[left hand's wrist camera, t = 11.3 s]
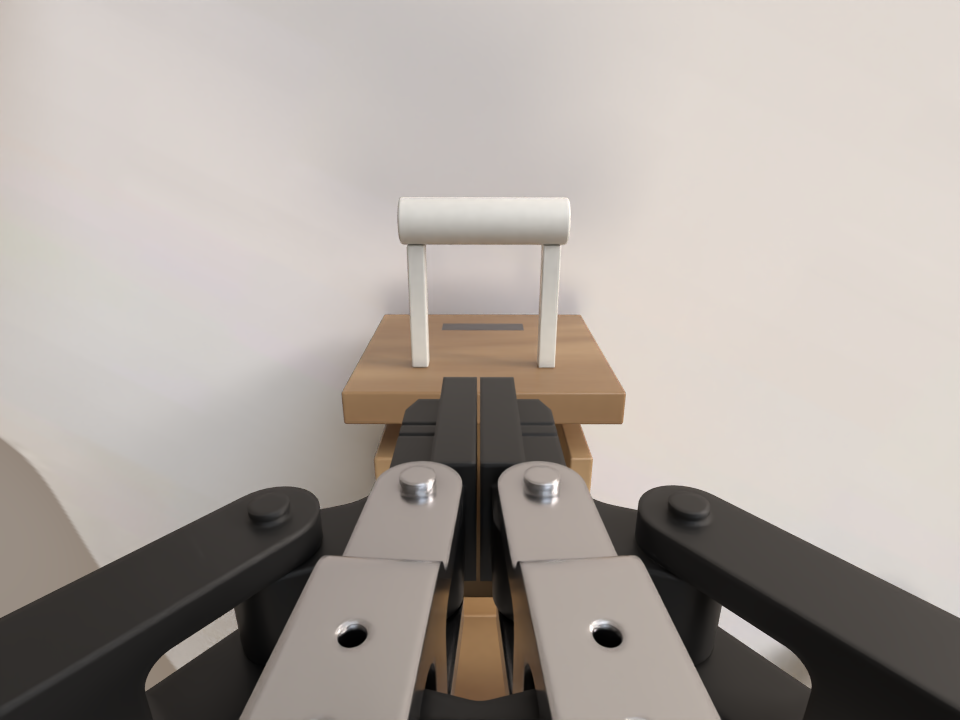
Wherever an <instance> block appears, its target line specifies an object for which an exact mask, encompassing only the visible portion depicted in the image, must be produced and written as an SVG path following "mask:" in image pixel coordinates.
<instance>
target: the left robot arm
mask: <svg viewBox="0 0 960 720" xmlns="http://www.w3.org/2000/svg"><path fill="white" fill-rule="evenodd" d="M476 547H477V377H443V383H442V389H441V396H440V399H418V400H417V401H416V402H414V403H413V404H412V405H411V406H410V407H408V408H407V409H406V410H405V414H404V417H403V421H402V425H401V428H400V432H399V436H398V439H397V443H396V446H395V450H394V453H393V457H392V461H391V464H390V468H389V469H388V470H386V471H385V472H383V473H382V474H381V475H380V476H379V477H378V478H377V480H376V481H375V483H374V485H373V488H372V490H371V492H370V494H369V496H367V497H365V498H363V499H361V500H358V501H355V502H353V503H349V504H345V505H341V506H336V507H331V508H326V509H321V510H320V506H319V501H318V499H317V498H316V496H315V495H314V494H312V493H311V492H309V491H307V490H305V489H301V488H297V487H273V488H267V489H263V490H259V491H256V492H253V493H251V494H248V495H246V496H244V497H242V498H240V499H238V500H236V501H234V502H232V503H230V504H228V505H226V506H224V507H222V508H220V509H218V510H216V511H214V512H212V513H210V514H208V515H206V516H204V517H202V518H200V519H198V520H196V521H194V522H192V523H190V524H188V525H186V526H184V527H182V528H180V529H178V530H176V531H174V532H172V533H170V534H168V535H166V536H164V537H162V538H160V539H158V540H156V541H154V542H152V543H150V544H148V545H146V546H144V547H142V548H140V549H138V550H136V551H134V552H132V553H130V554H128V555H126V556H124V557H122V558H120V559H118V560H116V561H114V562H112V563H110V564H108V565H106V566H104V567H102V568H100V569H98V570H96V571H94V572H92V573H90V574H88V575H86V576H84V577H82V578H80V579H78V580H76V581H74V582H72V583H70V584H68V585H66V586H64V587H62V588H60V589H58V590H56V591H54V592H52V593H50V594H48V595H46V596H44V597H42V598H40V599H38V600H36V601H34V602H32V603H30V604H28V605H26V606H24V607H22V608H20V609H18V610H16V611H14V612H12V613H10V614H8V615H6V616H4V617H2V618H0V720H960V618H958V617H956V616H954V615H952V614H950V613H948V612H946V611H944V610H942V609H940V608H938V607H936V606H934V605H932V604H930V603H928V602H926V601H924V600H922V599H920V598H918V597H916V596H914V595H912V594H910V593H908V592H906V591H904V590H902V589H900V588H898V587H896V586H894V585H892V584H890V583H888V582H886V581H884V580H882V579H880V578H878V577H876V576H874V575H872V574H870V573H868V572H866V571H864V570H862V569H860V568H858V567H856V566H854V565H852V564H850V563H848V562H846V561H844V560H842V559H840V558H838V557H836V556H834V555H832V554H830V553H828V552H826V551H824V550H822V549H820V548H818V547H816V546H814V545H812V544H810V543H808V542H806V541H804V540H802V539H800V538H798V537H796V536H794V535H792V534H790V533H788V532H786V531H784V530H782V529H780V528H778V527H776V526H774V525H772V524H770V523H768V522H766V521H764V520H762V519H760V518H758V517H756V516H754V515H752V514H750V513H748V512H746V511H744V510H742V509H740V508H738V507H736V506H734V505H732V504H730V503H728V502H726V501H724V500H722V499H720V498H718V497H716V496H714V495H712V494H710V493H708V492H705V491H702V490H699V489H695V488H691V487H685V486H675V485H671V486H660V487H656V488H653V489H651V490H649V491H647V492H646V493H644V494H643V495H642V496H641V498H640V500H639V503H638V510H634V509H629V508H624V507H619V506H614V505H610V504H606V503H603V502H600V501H597V500H595V499H593V498H592V497H591V494H590V492H589V490H588V488H587V485H586V483H585V481H584V480H583V478H582V477H581V476H580V475H579V474H578V473H577V472H575V471H574V470H572V469H570V468H568V467H566V463H565V459H564V456H563V452H562V448H561V444H560V441H559V437H558V433H557V429H556V426H555V422H554V418H553V414H552V410H551V409H550V408H548V407H547V406H546V405H545V404H544V403H543V402H541V401H540V400H539V399H517V397H516V390H515V383H514V377H480V581H492V596H493V601H494V603H495V605H496V625H497V632H498V640H499V648H500V656H501V664H502V671H503V679H504V687H505V695H506V696H503V697H499V698H495V699H491V700H485V701H475V700H469V699H465V698H461V697H457V696H454V695H455V687H456V679H457V671H458V664H459V656H460V648H461V640H462V632H463V625H464V581H476ZM722 606H724V607H725V608H727V609H728V610H730V611H732V612H733V613H735V614H736V615H738V616H739V617H741V618H742V619H744V620H745V621H747V622H749V623H750V624H752V625H753V626H755V627H756V628H758V629H759V630H761V631H762V632H764V633H766V634H767V635H769V636H770V637H772V638H773V639H775V640H776V641H778V642H779V643H781V644H783V645H784V646H786V647H787V648H788V649H790V650H791V651H792V652H793V653H794V654H795V655H796V656H797V657H798V658H799V659H800V660H801V661H802V663H803V664H804V665H805V667H806V669H807V670H808V673H809V675H810V678H811V683H812V688H811V689H810V688H808V687H807V686H805V685H804V684H802V683H801V682H799V681H798V680H796V679H795V678H793V677H792V676H790V675H789V674H787V673H786V672H785V671H783V670H782V669H780V668H779V667H777V666H776V665H774V664H773V663H771V662H770V661H768V660H767V659H765V658H764V657H762V656H761V655H760V654H758V653H757V652H755V651H754V650H752V649H751V648H749V647H748V646H746V645H745V644H743V643H742V642H740V641H739V640H738V639H736V638H735V637H733V636H732V635H730V634H729V633H727V632H726V631H724V630H723V629H721V628H720V627H718V622H719V617H720V612H721V607H722ZM233 608H234V609H235V614H236V619H237V624H238V629H237V630H236V631H234V632H233V633H231V634H230V635H228V636H227V637H225V638H224V639H222V640H221V641H220V642H218V643H217V644H215V645H214V646H212V647H211V648H209V649H208V650H206V651H205V652H203V653H202V654H200V655H199V656H197V657H196V658H195V659H193V660H192V661H190V662H189V663H187V664H186V665H184V666H183V667H181V668H180V669H178V670H177V671H176V672H174V673H173V674H171V675H170V676H168V677H167V678H165V679H164V680H162V681H161V682H159V683H158V684H156V685H155V686H153V687H152V688H150V689H149V690H147V691H146V692H145V682H146V679H147V676H148V674H149V672H150V670H151V668H152V667H153V666H154V664H155V663H156V662H157V661H158V659H159V658H160V657H161V656H162V655H164V654H165V653H166V652H167V651H169V650H170V649H171V648H173V647H174V646H176V645H177V644H179V643H181V642H182V641H184V640H185V639H187V638H188V637H190V636H191V635H193V634H194V633H196V632H198V631H199V630H201V629H202V628H204V627H205V626H207V625H208V624H210V623H211V622H213V621H215V620H216V619H218V618H219V617H221V616H222V615H224V614H225V613H227V612H228V611H230V610H232V609H233Z"/></svg>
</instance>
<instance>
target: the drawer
mask: <svg viewBox="0 0 960 720" xmlns="http://www.w3.org/2000/svg"><path fill="white" fill-rule="evenodd" d="M397 216H398V233H399V239H400V242H401V244H408V246H407V264H408V287H409V309H410V315H384V317H383V319H382V320H381V322H380V324H379V326H378V328H377V329H376V331H375V333H374V335H373V337H372V339H371V340H370V342H369V344H368V346H367V348H366V349H365V351H364V353H363V355H362V357H361V359H360V360H359V362H358V364H357V366H356V368H355V369H354V371H353V373H352V375H351V377H350V378H349V380H348V382H347V384H346V386H345V388H344V389H343V391H342V404H343V415H344V422H345V423H346V424H386V425H385V428H384V431H383V434H382V437H381V440H380V443H379V446H378V449H377V452H376V455H375V458H374V466H375V479H376V480H377V478H378V477H379V476H380V475H381V474H382V473H383V472H385V471H386V470H388V469H389V468H390V464H391V461H392V457H393V453H394V450H395V446H396V443H397V439H398V436H399V432H400V428H401V425H402V421H403V417H404V414H405V410H406V409H407V408H408V407H410V406H411V405H412V404H413V403H414V402H416V401H417V400H418V399H440V396H441V389H442V383H443V377H477V547H476V581H464V597H493V596H492V581H480V377H514V383H515V390H516V397H517V399H539V400H540V401H541V402H543V403H544V404H545V405H546V406H547V407H548V408H550V409H551V410H552V414H553V418H554V422H555V426H556V429H557V433H558V437H559V441H560V444H561V448H562V452H563V456H564V459H565V463H566V467H568V468H570V469H572V470H574V471H575V472H577V473H578V474H579V475H580V476H581V477H582V478H583V480H584V481H585V483H586V485H587V488H588V490H589V492H590V486H591V474H592V462H593V459H592V456H591V453H590V450H589V447H588V444H587V442H586V439H585V436H584V433H583V430H582V428H581V425H580V424H622V423H623V416H624V407H625V397H626V393H625V391H624V389H623V388H622V386H621V384H620V382H619V381H618V379H617V377H616V376H615V374H614V372H613V370H612V369H611V367H610V365H609V363H608V362H607V360H606V358H605V357H604V355H603V353H602V351H601V350H600V348H599V346H598V344H597V343H596V341H595V339H594V338H593V336H592V334H591V332H590V331H589V329H588V327H587V325H586V324H585V322H584V320H583V319H582V317H581V315H557V314H558V295H559V276H560V257H561V246H560V245H565V244H567V241H568V238H569V233H570V220H571V212H570V202H569V199H568V198H566V197H401V198H400V199H399V202H398V215H397ZM425 244H468V245H542V250H541V274H540V299H539V315H428V299H427V269H426V245H425Z"/></svg>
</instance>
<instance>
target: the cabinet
mask: <svg viewBox="0 0 960 720" xmlns="http://www.w3.org/2000/svg"><path fill="white" fill-rule="evenodd" d="M454 696H457V697H461V698H465V699H469V700H475V701H485V700H491V699H495V698H499V697H503V696H506V695H505V687H504V679H503V671H502V664H501V656H500V648H499V640H498V632H497V625H496V605H495V603H494V601H493V597H464V625H463V632H462V640H461V648H460V656H459V664H458V671H457V679H456V687H455V695H454Z"/></svg>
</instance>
